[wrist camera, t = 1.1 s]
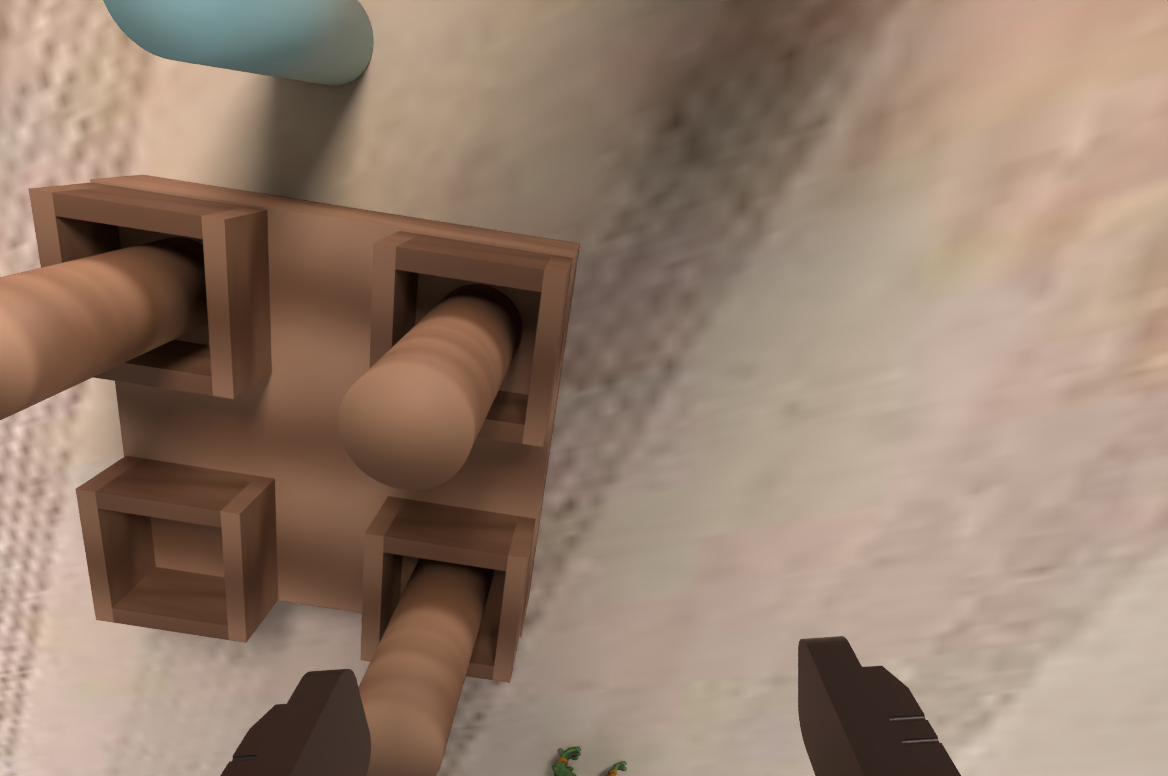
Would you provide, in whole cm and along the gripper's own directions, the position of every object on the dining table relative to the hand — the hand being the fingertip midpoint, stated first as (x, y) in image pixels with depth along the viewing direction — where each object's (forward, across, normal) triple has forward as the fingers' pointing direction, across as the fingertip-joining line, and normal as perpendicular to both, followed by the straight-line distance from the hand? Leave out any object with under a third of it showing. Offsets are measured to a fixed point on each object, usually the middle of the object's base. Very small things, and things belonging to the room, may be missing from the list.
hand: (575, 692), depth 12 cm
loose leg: (+19, +9, -15) cm, 26 cm away
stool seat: (+20, +11, +1) cm, 23 cm away
